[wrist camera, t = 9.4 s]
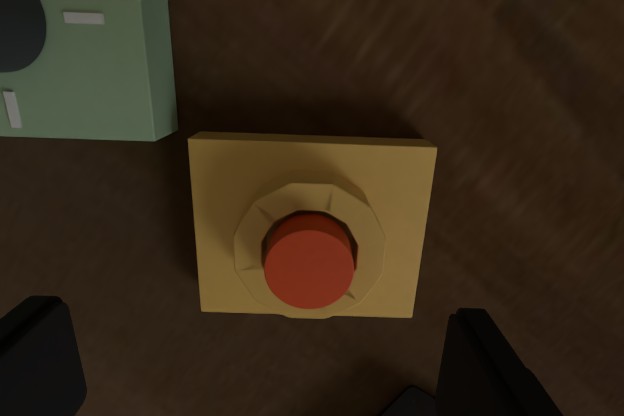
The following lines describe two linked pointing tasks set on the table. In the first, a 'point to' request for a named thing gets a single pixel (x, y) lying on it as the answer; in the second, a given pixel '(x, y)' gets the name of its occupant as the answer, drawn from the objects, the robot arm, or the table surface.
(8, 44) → the lock dial
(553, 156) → the table surface
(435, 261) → the table surface
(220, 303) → the tan flat block
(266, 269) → the button
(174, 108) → the dial panel
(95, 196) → the table surface
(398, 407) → the calculator
